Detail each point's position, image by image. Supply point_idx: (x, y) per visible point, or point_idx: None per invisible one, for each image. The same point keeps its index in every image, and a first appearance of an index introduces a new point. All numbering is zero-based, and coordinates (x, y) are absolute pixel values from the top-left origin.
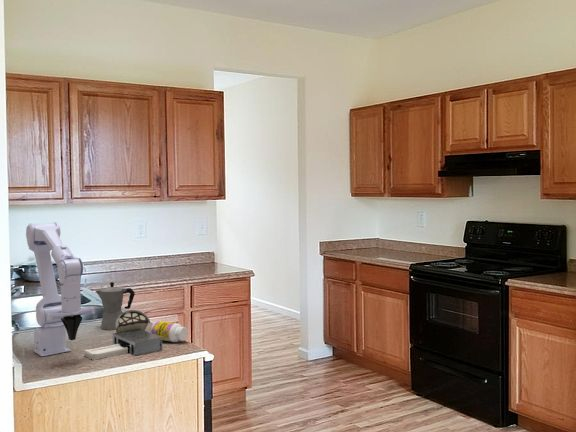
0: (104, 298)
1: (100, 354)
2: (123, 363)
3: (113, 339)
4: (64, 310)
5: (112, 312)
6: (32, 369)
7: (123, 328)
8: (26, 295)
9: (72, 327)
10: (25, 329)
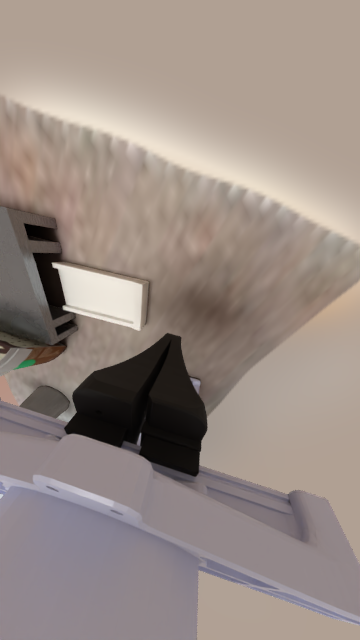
0: None
1: (124, 279)
2: (102, 171)
3: (65, 336)
4: (195, 623)
5: None
6: (269, 338)
7: (19, 342)
8: None
9: (168, 365)
10: None
